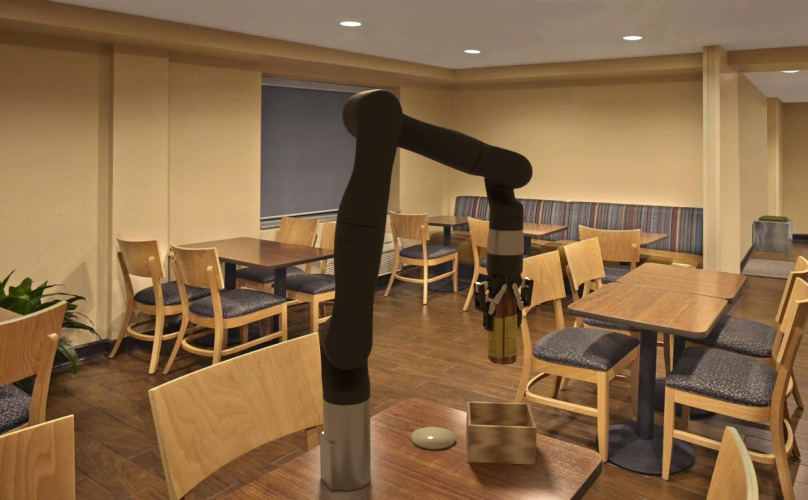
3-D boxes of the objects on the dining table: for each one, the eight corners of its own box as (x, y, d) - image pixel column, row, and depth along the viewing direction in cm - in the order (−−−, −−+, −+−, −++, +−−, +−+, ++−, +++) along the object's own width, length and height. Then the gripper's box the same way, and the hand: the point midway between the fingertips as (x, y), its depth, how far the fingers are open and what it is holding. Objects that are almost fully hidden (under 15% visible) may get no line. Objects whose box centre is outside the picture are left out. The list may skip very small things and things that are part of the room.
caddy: (467, 461, 135) (468, 425, 134) (466, 434, 148) (466, 401, 147) (535, 464, 134) (536, 428, 133) (528, 436, 147) (529, 403, 146)
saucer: (424, 453, 139) (424, 450, 139) (403, 434, 148) (403, 432, 148) (464, 443, 144) (464, 441, 143) (441, 426, 152) (441, 424, 152)
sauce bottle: (515, 357, 141) (519, 267, 138) (517, 366, 135) (521, 272, 131) (485, 355, 141) (488, 266, 138) (486, 365, 135) (489, 271, 132)
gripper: (486, 255, 128) (483, 337, 130) (544, 251, 134) (540, 329, 137) (466, 250, 134) (464, 328, 137) (522, 246, 141) (519, 320, 143)
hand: (502, 328), depth 137 cm, fingers closed on sauce bottle, 6 cm apart
